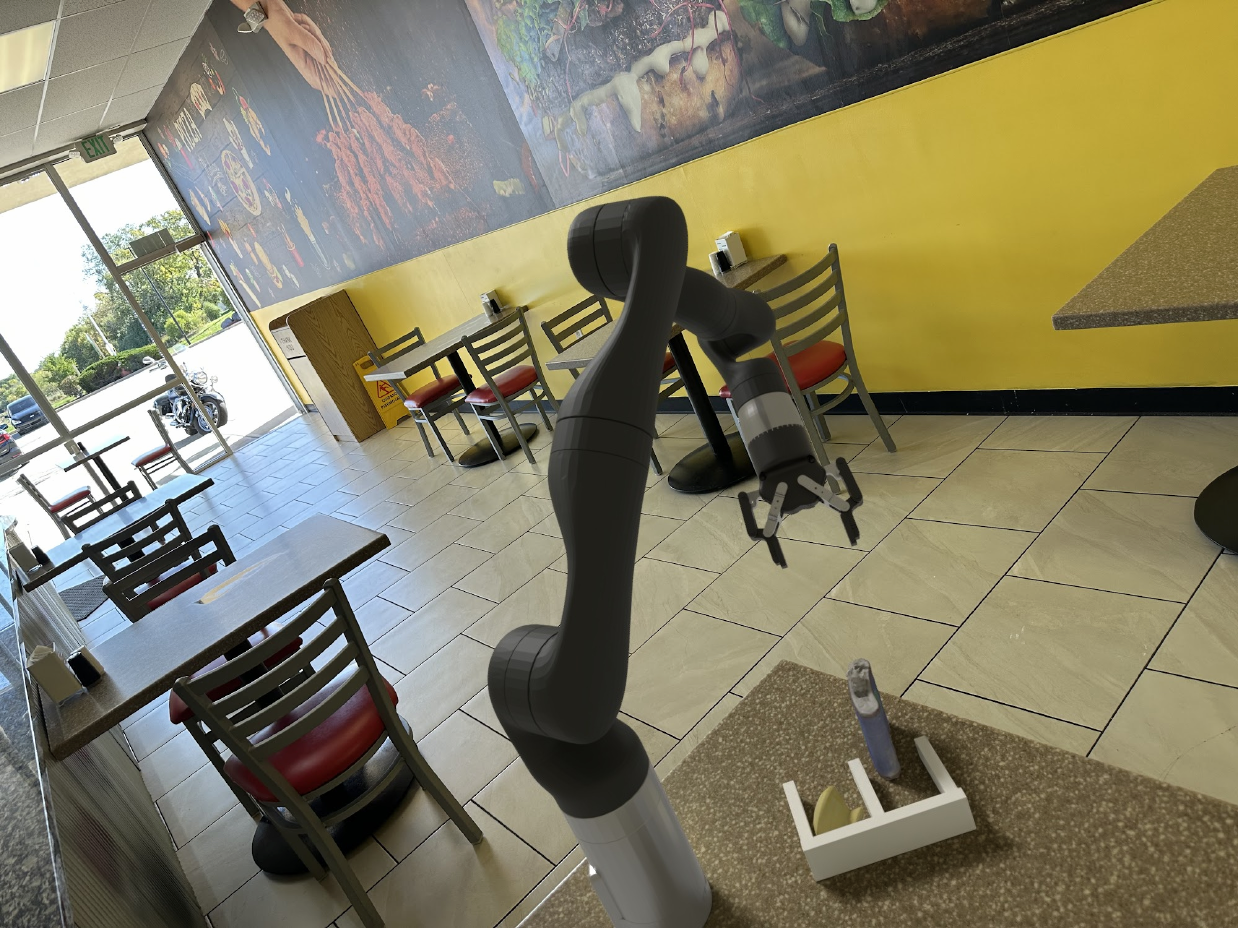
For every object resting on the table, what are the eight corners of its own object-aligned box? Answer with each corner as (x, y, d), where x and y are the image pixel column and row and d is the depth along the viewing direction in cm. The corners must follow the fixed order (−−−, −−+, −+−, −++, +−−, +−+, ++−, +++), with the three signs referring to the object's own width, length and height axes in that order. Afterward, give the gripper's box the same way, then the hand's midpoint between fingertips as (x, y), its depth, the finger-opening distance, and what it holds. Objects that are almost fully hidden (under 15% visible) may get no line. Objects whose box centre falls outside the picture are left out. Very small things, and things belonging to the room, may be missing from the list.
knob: (813, 849, 78) (798, 812, 76) (830, 807, 81) (816, 771, 80) (860, 859, 75) (845, 821, 73) (875, 816, 78) (861, 778, 77)
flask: (904, 778, 81) (876, 697, 78) (875, 783, 82) (846, 703, 78) (888, 717, 90) (863, 641, 86) (863, 722, 90) (836, 647, 87)
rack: (815, 881, 74) (803, 851, 73) (789, 801, 84) (778, 773, 83) (976, 828, 73) (966, 796, 72) (930, 753, 83) (921, 723, 81)
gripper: (716, 446, 98) (757, 569, 92) (827, 405, 95) (878, 529, 89) (727, 464, 105) (766, 580, 99) (831, 427, 102) (878, 543, 96)
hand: (819, 555), depth 94 cm, fingers open, 8 cm apart
